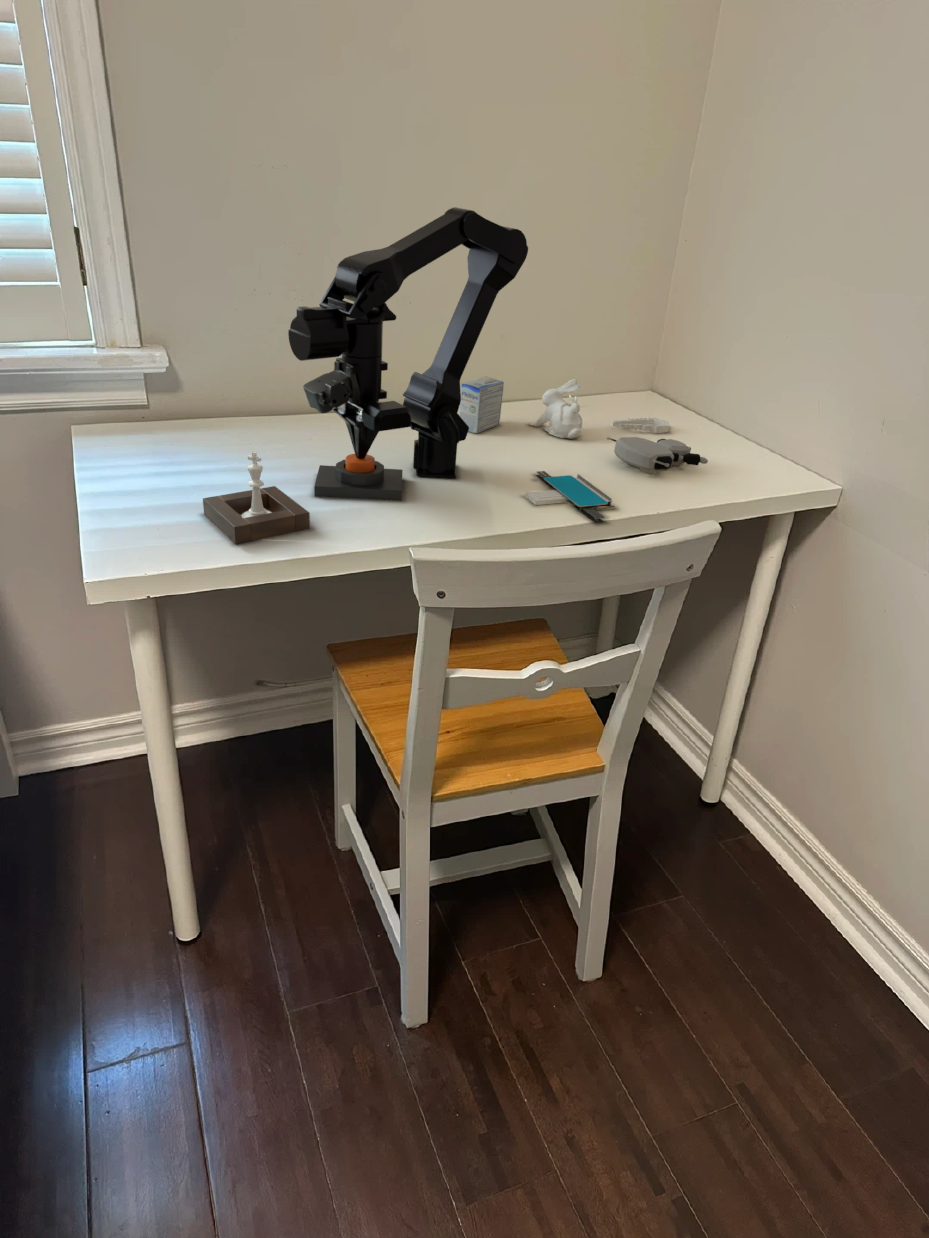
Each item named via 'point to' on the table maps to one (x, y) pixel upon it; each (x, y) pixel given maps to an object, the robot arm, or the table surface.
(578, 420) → the rabbit figurine
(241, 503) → the frame
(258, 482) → the chess piece
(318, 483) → the push button base
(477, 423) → the medicine box
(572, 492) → the phone stand
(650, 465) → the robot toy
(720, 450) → the table surface
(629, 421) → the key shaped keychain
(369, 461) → the orange push button
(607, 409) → the table surface
